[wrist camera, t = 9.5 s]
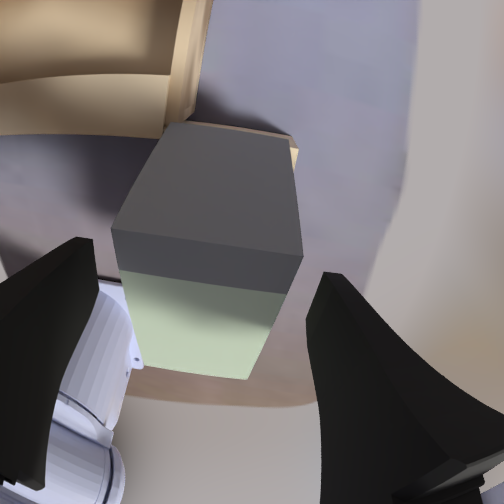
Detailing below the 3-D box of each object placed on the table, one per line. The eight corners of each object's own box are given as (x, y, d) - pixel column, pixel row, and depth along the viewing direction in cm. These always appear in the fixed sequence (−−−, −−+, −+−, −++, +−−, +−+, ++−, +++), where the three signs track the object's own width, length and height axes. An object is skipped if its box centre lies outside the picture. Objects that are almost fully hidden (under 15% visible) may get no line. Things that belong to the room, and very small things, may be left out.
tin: (251, 273, 17) (247, 379, 13) (168, 261, 17) (144, 364, 13) (288, 139, 11) (303, 256, 7) (170, 121, 11) (110, 228, 7)
